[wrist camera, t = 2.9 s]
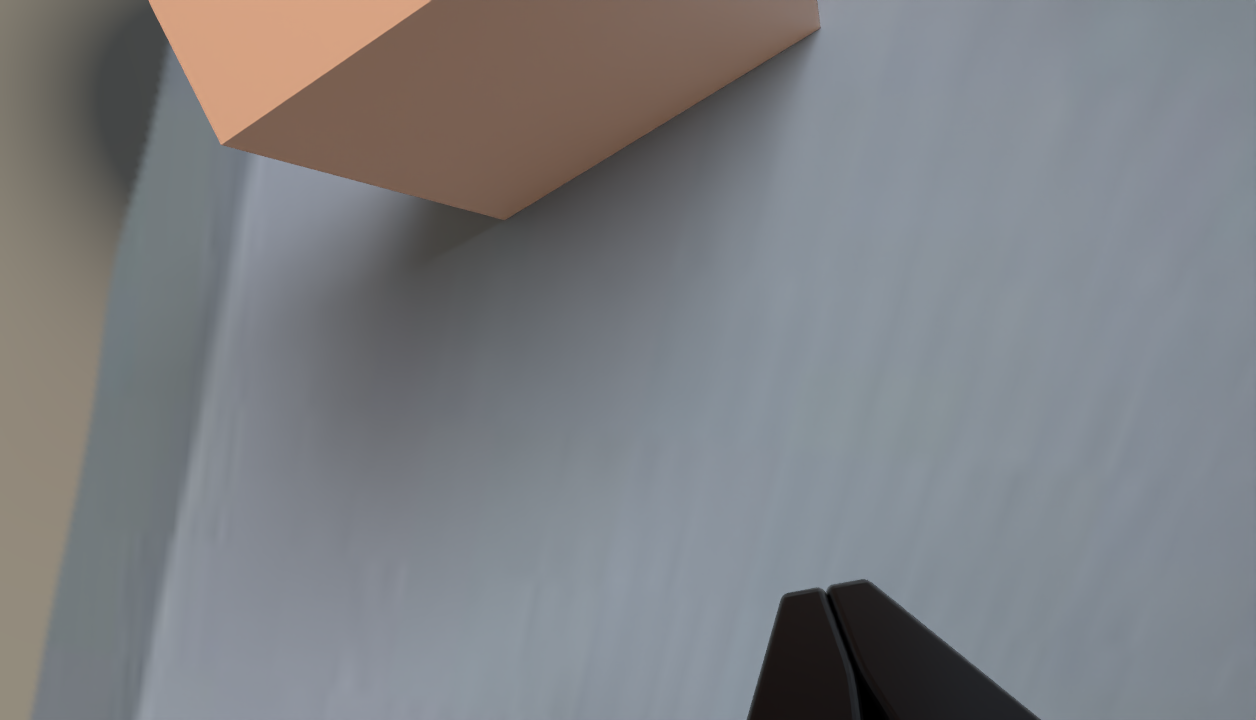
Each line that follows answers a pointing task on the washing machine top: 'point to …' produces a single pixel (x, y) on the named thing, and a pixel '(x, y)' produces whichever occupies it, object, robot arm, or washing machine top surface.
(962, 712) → the robot arm
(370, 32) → the block
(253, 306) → the washing machine top surface
